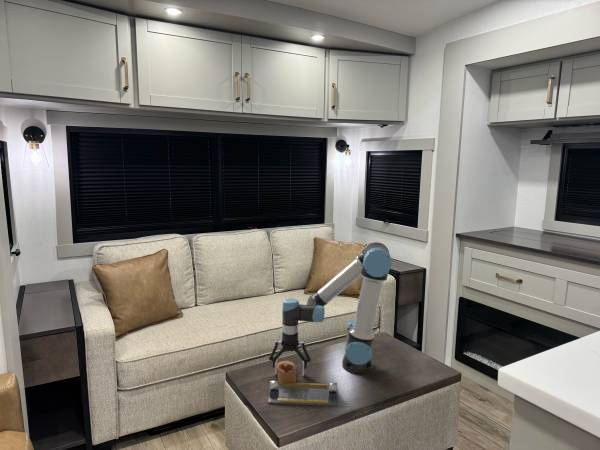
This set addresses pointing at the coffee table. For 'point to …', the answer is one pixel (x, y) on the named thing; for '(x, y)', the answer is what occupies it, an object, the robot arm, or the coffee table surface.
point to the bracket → (286, 372)
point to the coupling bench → (303, 394)
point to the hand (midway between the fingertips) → (289, 374)
